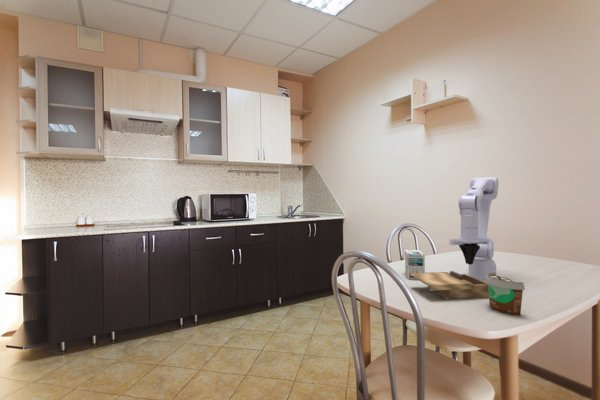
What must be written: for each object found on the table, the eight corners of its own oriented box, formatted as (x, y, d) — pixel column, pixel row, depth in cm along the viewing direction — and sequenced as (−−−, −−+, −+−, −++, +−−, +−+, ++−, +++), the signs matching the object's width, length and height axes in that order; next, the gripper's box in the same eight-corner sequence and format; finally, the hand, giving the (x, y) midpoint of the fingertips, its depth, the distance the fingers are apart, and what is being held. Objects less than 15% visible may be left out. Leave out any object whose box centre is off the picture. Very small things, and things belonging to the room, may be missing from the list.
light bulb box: (425, 280, 127) (425, 254, 127) (408, 279, 128) (408, 253, 128) (420, 273, 137) (420, 249, 137) (404, 273, 139) (404, 249, 139)
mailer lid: (446, 276, 119) (446, 268, 119) (472, 288, 104) (472, 279, 104) (409, 277, 118) (409, 269, 118) (430, 290, 102) (430, 280, 102)
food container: (476, 302, 101) (476, 272, 101) (494, 302, 101) (494, 271, 101) (504, 318, 88) (504, 283, 88) (524, 317, 89) (524, 282, 89)
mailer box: (464, 285, 119) (464, 274, 119) (490, 297, 105) (490, 284, 105) (427, 287, 118) (427, 275, 118) (449, 299, 104) (449, 286, 104)
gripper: (457, 229, 110) (457, 267, 110) (495, 228, 111) (495, 265, 112) (446, 227, 117) (446, 262, 117) (481, 226, 118) (481, 261, 119)
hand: (469, 263), depth 115 cm, fingers closed
